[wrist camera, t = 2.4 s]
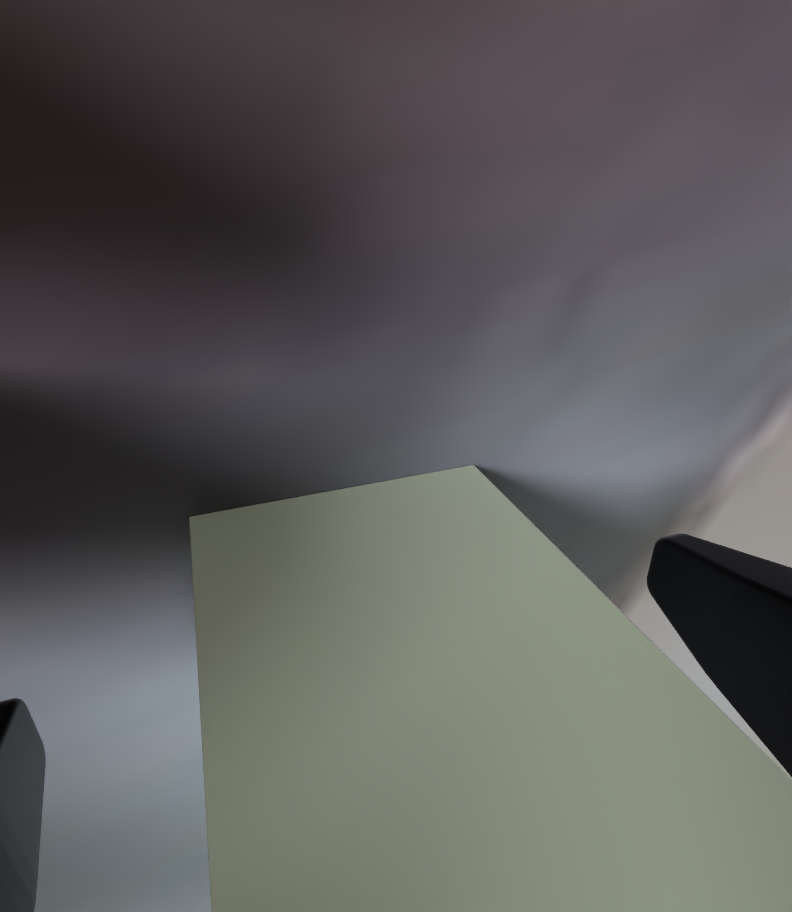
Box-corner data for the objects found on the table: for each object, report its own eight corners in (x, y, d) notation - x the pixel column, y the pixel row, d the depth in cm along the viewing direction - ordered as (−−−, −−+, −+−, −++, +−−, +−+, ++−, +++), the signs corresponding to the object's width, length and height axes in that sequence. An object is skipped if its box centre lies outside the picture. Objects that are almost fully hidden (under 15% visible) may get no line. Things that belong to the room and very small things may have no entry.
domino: (469, 536, 11) (906, 1078, 5) (205, 595, 10) (282, 1505, 3) (473, 465, 11) (998, 984, 4) (189, 516, 9) (243, 1482, 2)
